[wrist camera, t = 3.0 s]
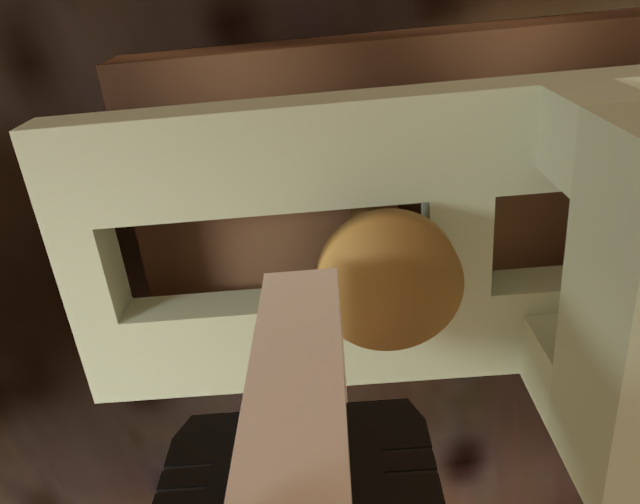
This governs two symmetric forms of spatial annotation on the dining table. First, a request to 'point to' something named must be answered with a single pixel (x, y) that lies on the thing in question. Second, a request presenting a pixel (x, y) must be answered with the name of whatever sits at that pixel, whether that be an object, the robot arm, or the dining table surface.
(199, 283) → the rail
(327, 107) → the panel
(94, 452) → the dining table surface
